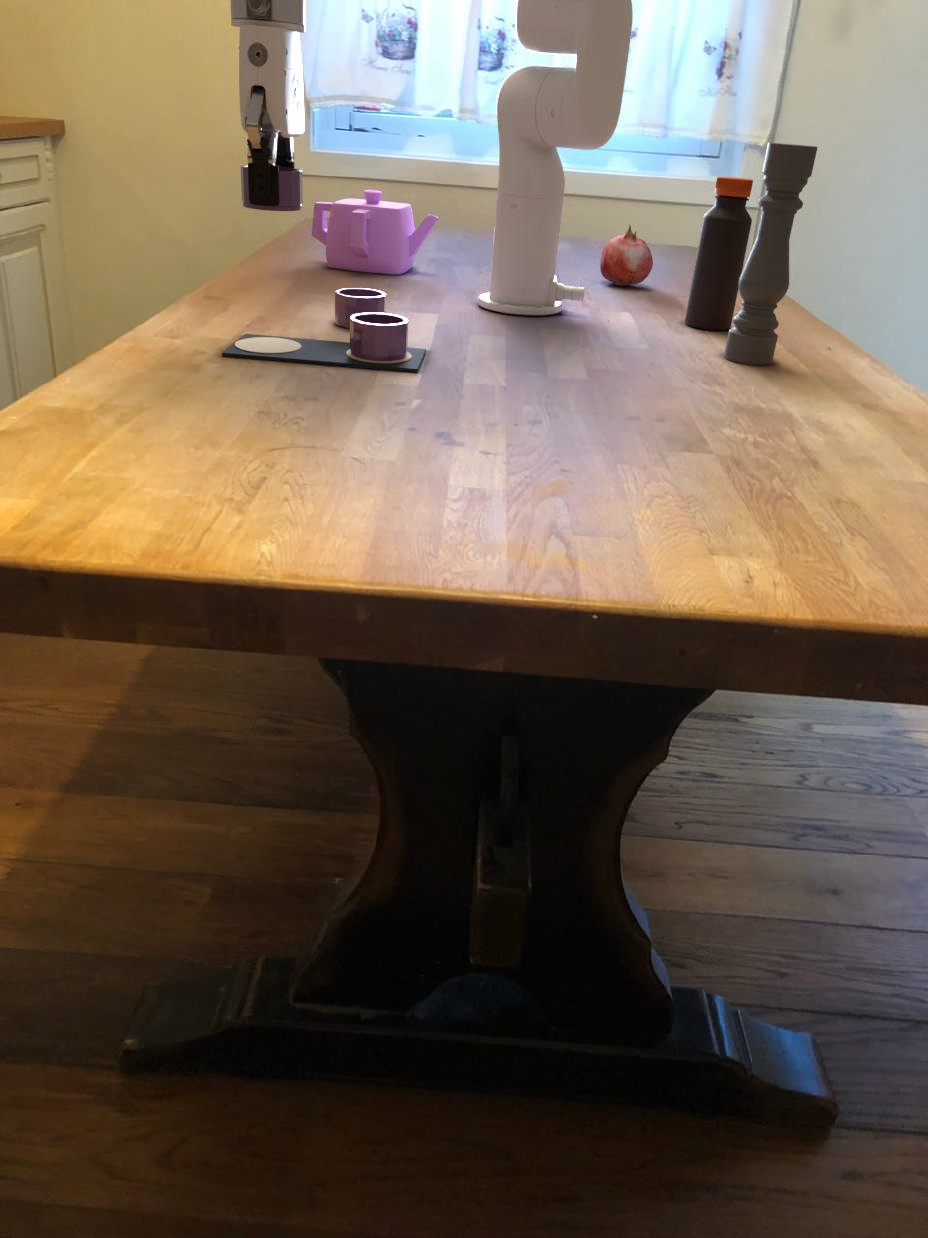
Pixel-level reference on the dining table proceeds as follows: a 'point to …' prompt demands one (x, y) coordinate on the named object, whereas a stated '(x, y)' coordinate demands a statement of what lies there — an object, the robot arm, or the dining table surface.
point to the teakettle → (370, 234)
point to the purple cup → (287, 190)
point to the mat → (316, 353)
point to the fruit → (626, 260)
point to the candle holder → (769, 255)
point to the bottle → (720, 256)
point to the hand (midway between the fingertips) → (272, 200)
